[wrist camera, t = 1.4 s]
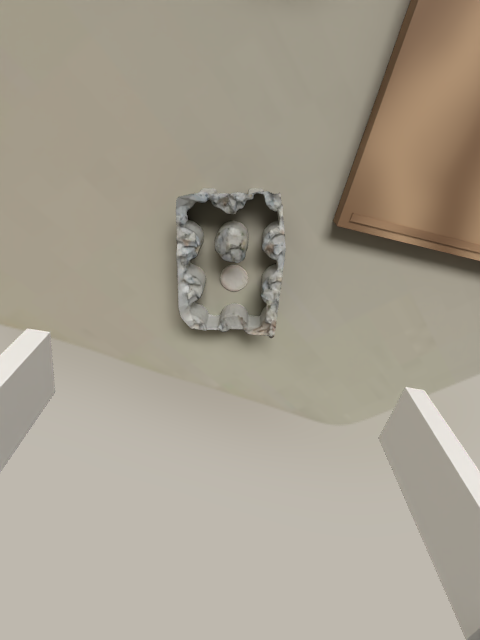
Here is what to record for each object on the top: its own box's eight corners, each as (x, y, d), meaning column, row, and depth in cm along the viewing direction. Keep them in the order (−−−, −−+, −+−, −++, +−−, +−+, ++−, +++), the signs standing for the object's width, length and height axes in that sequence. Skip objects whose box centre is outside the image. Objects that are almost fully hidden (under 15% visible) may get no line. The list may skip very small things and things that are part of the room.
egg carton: (274, 319, 30) (276, 345, 27) (186, 313, 30) (176, 338, 27) (288, 187, 25) (294, 197, 22) (183, 180, 25) (170, 190, 22)
